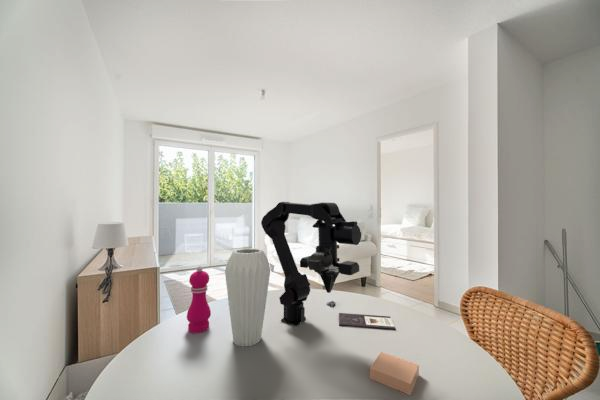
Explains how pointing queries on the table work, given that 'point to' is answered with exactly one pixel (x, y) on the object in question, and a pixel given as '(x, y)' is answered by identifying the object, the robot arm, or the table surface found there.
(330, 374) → the table surface
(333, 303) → the blueberries
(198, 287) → the pepper mill
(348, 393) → the table surface
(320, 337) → the table surface
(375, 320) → the chocolate bar
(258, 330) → the vase
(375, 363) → the block
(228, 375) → the table surface
